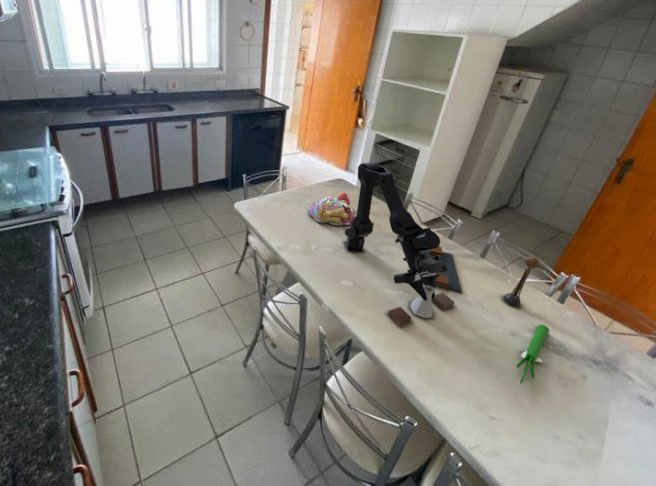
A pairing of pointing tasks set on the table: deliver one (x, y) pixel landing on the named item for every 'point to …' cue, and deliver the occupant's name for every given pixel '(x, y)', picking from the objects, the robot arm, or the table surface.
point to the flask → (423, 304)
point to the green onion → (534, 350)
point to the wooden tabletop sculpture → (522, 282)
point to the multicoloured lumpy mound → (333, 210)
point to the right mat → (447, 277)
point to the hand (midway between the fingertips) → (429, 299)
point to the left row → (402, 317)
